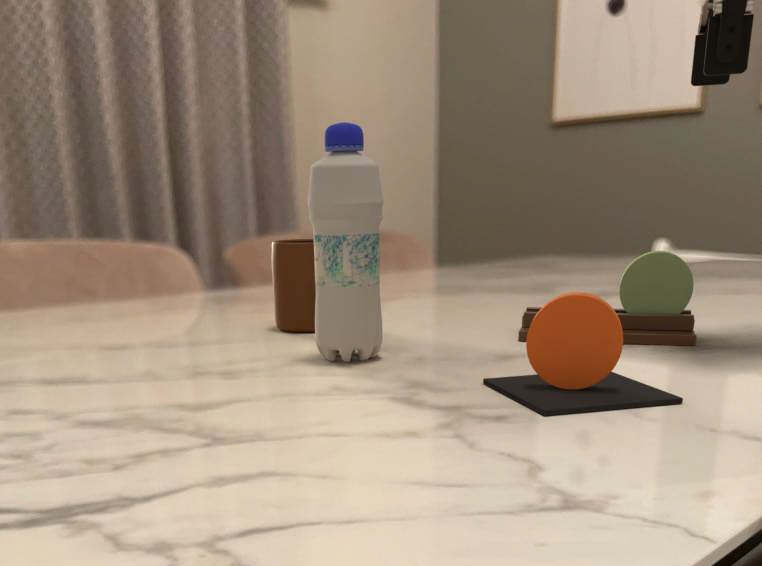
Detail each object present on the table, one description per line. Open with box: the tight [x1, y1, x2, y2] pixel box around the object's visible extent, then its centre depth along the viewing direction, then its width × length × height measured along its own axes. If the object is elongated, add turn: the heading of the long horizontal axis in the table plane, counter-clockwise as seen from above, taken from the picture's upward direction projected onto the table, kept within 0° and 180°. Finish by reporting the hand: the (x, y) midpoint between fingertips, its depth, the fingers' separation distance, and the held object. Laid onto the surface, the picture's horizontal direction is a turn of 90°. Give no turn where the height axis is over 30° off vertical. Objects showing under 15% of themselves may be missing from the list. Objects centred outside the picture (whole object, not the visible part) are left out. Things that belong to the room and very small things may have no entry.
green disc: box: [618, 250, 695, 314], centre depth 85 cm, size 2×7×7 cm, turn 75°
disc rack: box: [517, 306, 697, 347], centre depth 88 cm, size 9×17×2 cm, turn 75°
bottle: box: [307, 121, 384, 363], centre depth 76 cm, size 7×7×20 cm
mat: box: [482, 371, 684, 417], centre depth 65 cm, size 11×11×1 cm
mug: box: [271, 238, 316, 333], centre depth 95 cm, size 12×8×9 cm, turn 81°
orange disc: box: [525, 291, 624, 390], centre depth 64 cm, size 2×7×7 cm, turn 75°
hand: (716, 79), depth 72 cm, fingers open, 9 cm apart
